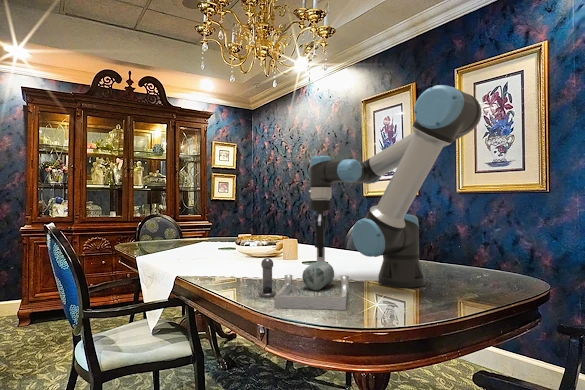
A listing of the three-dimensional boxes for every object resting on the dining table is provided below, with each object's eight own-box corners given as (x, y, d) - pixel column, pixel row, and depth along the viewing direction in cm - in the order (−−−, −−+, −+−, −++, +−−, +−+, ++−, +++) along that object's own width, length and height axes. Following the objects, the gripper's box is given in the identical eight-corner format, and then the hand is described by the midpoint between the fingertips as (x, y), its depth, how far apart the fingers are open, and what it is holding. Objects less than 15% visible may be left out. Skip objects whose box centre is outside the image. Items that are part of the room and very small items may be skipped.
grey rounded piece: (327, 282, 118) (316, 252, 123) (301, 295, 122) (291, 265, 126) (345, 285, 129) (335, 258, 134) (321, 296, 133) (311, 269, 137)
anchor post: (277, 293, 119) (277, 257, 119) (274, 297, 114) (273, 259, 114) (261, 293, 120) (261, 256, 120) (257, 297, 115) (257, 259, 115)
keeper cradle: (349, 292, 120) (348, 275, 120) (348, 310, 100) (347, 290, 100) (285, 290, 123) (285, 274, 123) (272, 307, 103) (271, 288, 103)
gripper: (312, 199, 148) (312, 262, 148) (308, 199, 135) (308, 268, 135) (332, 199, 147) (332, 263, 147) (330, 199, 134) (330, 269, 134)
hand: (320, 265), depth 141 cm, fingers closed
